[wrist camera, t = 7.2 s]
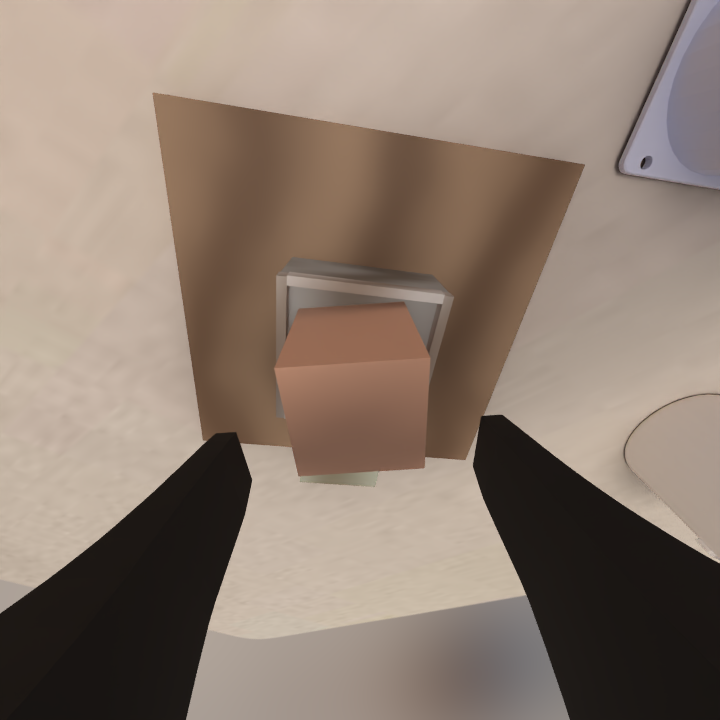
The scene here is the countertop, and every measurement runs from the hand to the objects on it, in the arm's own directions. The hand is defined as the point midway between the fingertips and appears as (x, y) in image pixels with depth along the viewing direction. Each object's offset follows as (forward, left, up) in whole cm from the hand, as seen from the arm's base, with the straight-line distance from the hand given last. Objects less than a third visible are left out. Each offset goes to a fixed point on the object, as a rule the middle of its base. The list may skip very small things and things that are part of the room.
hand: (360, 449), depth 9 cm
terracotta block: (0, 0, -6) cm, 6 cm away
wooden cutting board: (0, 0, -10) cm, 10 cm away
